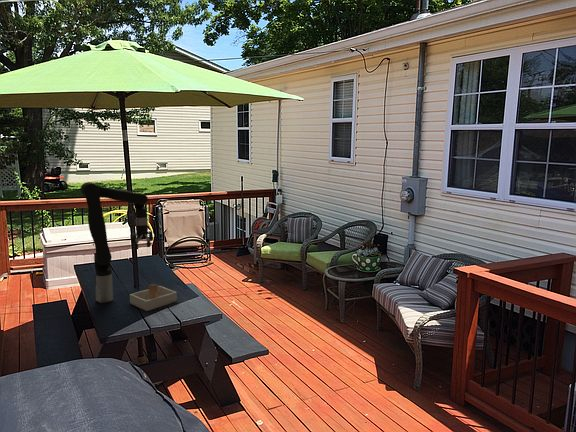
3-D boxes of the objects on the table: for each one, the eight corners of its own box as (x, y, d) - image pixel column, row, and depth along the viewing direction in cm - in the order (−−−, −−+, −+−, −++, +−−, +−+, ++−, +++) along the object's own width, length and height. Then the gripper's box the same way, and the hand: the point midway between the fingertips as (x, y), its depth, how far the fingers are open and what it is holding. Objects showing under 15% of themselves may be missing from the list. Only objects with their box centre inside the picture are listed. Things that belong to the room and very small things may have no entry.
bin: (146, 311, 273) (146, 301, 272) (130, 303, 284) (129, 294, 283) (177, 301, 290) (176, 292, 288) (160, 294, 301) (160, 285, 300)
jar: (152, 302, 283) (151, 287, 281) (147, 300, 287) (146, 285, 285) (160, 300, 287) (159, 285, 285) (155, 298, 291) (154, 283, 289)
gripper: (135, 226, 289) (136, 251, 292) (154, 223, 300) (155, 247, 303) (128, 224, 294) (129, 249, 297) (147, 221, 305) (148, 245, 308)
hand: (142, 248), depth 300 cm, fingers open, 8 cm apart
